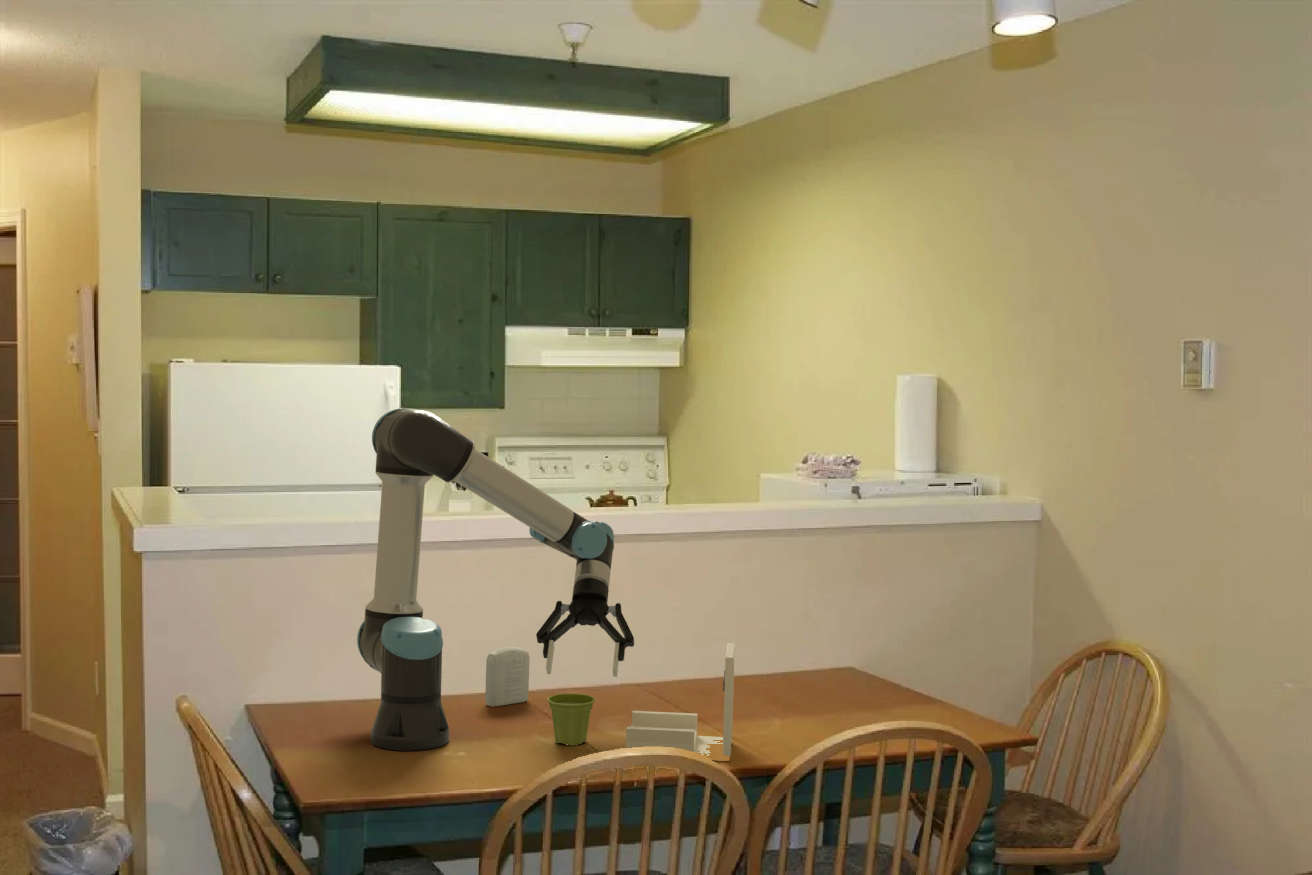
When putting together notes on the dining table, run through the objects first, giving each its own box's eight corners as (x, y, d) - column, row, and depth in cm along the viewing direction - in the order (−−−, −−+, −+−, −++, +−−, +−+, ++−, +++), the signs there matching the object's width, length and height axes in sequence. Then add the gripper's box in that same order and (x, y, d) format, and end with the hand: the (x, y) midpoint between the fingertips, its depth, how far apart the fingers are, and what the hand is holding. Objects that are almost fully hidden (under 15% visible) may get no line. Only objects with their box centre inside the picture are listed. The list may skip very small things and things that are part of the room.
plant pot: (551, 749, 273) (552, 705, 272) (542, 736, 282) (543, 693, 282) (598, 747, 275) (599, 703, 275) (588, 734, 284) (589, 692, 284)
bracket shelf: (632, 737, 283) (634, 639, 282) (731, 742, 282) (734, 643, 280) (625, 756, 269) (628, 653, 268) (730, 761, 268) (733, 657, 267)
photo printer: (519, 697, 314) (520, 643, 313) (531, 701, 311) (532, 646, 310) (482, 704, 307) (483, 648, 306) (494, 708, 304) (495, 651, 303)
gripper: (650, 598, 302) (643, 684, 288) (534, 594, 304) (522, 679, 290) (649, 578, 297) (642, 664, 283) (531, 574, 298) (518, 659, 284)
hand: (581, 672), depth 286 cm, fingers open, 13 cm apart
